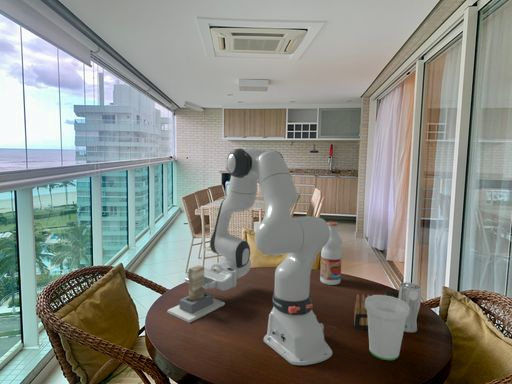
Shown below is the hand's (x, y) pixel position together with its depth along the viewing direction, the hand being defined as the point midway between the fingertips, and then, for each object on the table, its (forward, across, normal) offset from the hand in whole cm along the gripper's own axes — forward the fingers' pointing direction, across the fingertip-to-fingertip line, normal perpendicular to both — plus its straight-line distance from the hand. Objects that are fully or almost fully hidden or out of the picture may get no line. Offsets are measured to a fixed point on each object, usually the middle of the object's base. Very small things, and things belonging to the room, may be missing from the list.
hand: (194, 283), depth 125 cm
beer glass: (-36, +67, +10) cm, 77 cm away
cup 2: (-17, +65, +10) cm, 68 cm away
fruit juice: (-59, +28, +10) cm, 66 cm away
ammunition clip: (-28, +56, +10) cm, 64 cm away
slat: (-1, 0, +9) cm, 9 cm away
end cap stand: (-1, 0, +10) cm, 10 cm away
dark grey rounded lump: (-45, +60, +10) cm, 76 cm away
